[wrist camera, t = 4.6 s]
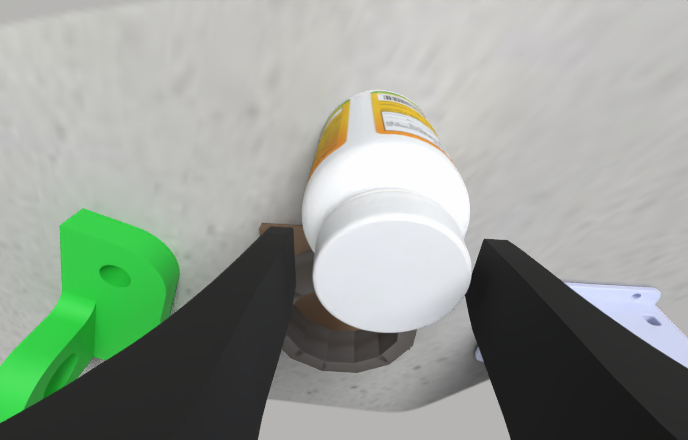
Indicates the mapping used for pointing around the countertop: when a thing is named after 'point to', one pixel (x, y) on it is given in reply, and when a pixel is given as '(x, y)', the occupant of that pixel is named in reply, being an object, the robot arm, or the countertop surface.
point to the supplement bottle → (386, 217)
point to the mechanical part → (91, 307)
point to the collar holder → (331, 326)
